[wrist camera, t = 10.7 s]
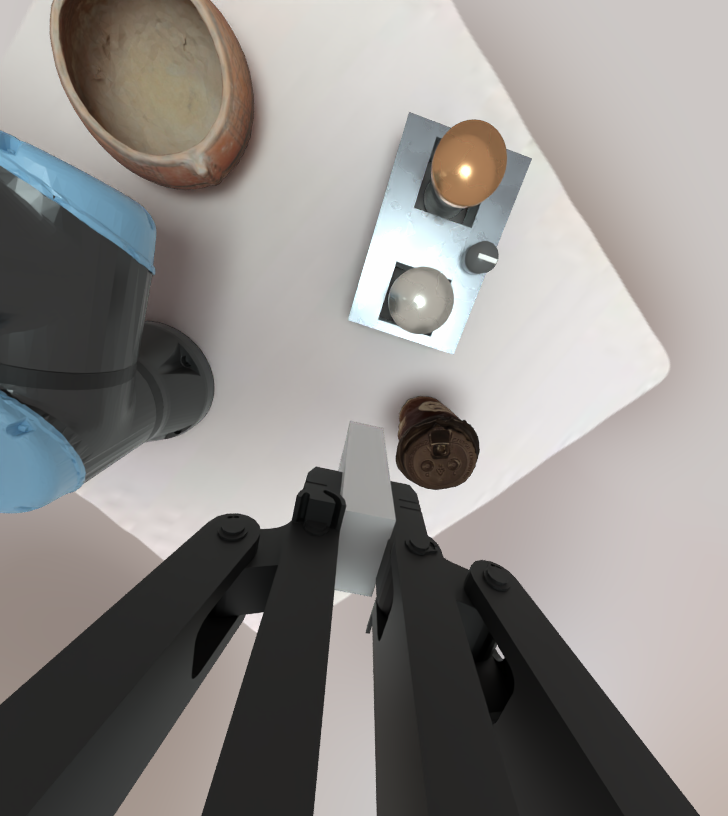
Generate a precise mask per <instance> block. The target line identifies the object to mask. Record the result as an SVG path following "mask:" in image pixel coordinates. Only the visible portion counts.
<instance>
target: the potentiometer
mask: <svg viewBox="0 0 728 816" xmlns="http://www.w3.org/2000/svg"><path fill="white" fill-rule="evenodd" d="M497 261H498V250H497V248H496V246H495V245H494V244H493V243H491V242H489V241H481V242H478V243H476V244H474V245H472V246H470V247H468V248H467V249H466V250H465V252H464V253H463V256H462V266H463V269H464V270H465V271H466V272H467V273H469V274H472V275H477V274H482V273H487V272H489V271H490V270H492V269H493V268H494V267H495V265H496V263H497Z"/></svg>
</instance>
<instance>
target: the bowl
mask: <svg viewBox="0 0 728 816" xmlns="http://www.w3.org/2000/svg"><path fill="white" fill-rule="evenodd" d="M50 39H51V46H52V51H53V56H54V61H55V66H56V69H57V72H58V75H59V78H60V81H61V84H62V86H63V88H64V90H65V92H66V94H67V97H68V99H69V101H70V103H71V104H72V106H73V108H74V110H75V111H76V113H77V115H78V116H79V118H80V119H81V121H82V122H83V124H84V125H85V126H86V128H87V129H88V131H89V132H90V133H91V134H92V136H93V137H94V138H95V139H96V140H97V141H98V143H99V144H100V145H101V146H102V147H103V148H104V149H105V150H106V151H107V152H108V153H109V154H110V155H111V156H112V157H114V158H115V159H116V160H117V161H118V162H119V163H121V164H122V165H123V166H124V167H126V168H127V169H128V170H130V171H132V172H133V173H135V174H137V175H138V176H140V177H142V178H144V179H147V180H149V181H152V182H154V183H157V184H159V185H162V186H166V187H170V188H174V189H184V190H190V189H197V188H203V187H207V186H210V185H218V184H220V183H221V181H222V180H223V179H224V178H225V177H226V176H227V175H228V174H229V173H230V172H231V171H232V170H233V169H234V168H235V166H236V165H237V164H238V163H239V161H240V158H241V157H242V155H243V154H244V151H245V149H246V147H247V145H248V141H249V139H250V136H251V127H252V123H253V118H254V98H253V89H252V82H251V77H250V72H249V68H248V65H247V62H246V59H245V55H244V53H243V51H242V49H241V46H240V44H239V42H238V40H237V38H236V36H235V35H234V32H233V31H232V29H231V27H230V26H229V24H228V23H227V21H226V19H225V18H224V16H223V15H222V13H221V12H220V11H219V10H218V9H217V7H216V6H215V5H214V4H213V3H212V2H211V1H210V0H53V3H52V5H51V14H50Z"/></svg>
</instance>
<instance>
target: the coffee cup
mask: <svg viewBox="0 0 728 816" xmlns="http://www.w3.org/2000/svg"><path fill="white" fill-rule="evenodd" d="M399 421H400V424H399V431H398V439H399V443H398V446H397V453H396V464H397V467H398V469H399V470H400V471H401V472H402V473H403V474H404V476H405V477H406V478H407V479H409V480H410V481H412V482H414V483H415V484H417V485H419V486H421V487H424V488H427V489H433V490H439V489H447V488H451V487H456V486H458V485H460V484H462V483H464V482H465V481H466V480H467V479H468V477H470V476H471V474H472V472H473V470H474V468H475V466H476V462H477V459H478V455H479V451H480V449H479V440H478V436H477V434H476V432H475V430H474V428H473V427H471V425H470V424H468V423H467V422H466V421H465V420H463V421H462V420H460V419H459V418H458V417H457V416H456V415H455V414H454V413H453V412H452V411H451V410H450V409H448V408H447V407H446V406H444V405H443V404H442V403H441V402H440V401H438V400H437V399H434V398H432V397H425V396H418V397H416V398H412V399H409V400H408V401H407V402H406V404H405V405H404V406H403V407H402V410H401V411H400V416H399Z"/></svg>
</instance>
